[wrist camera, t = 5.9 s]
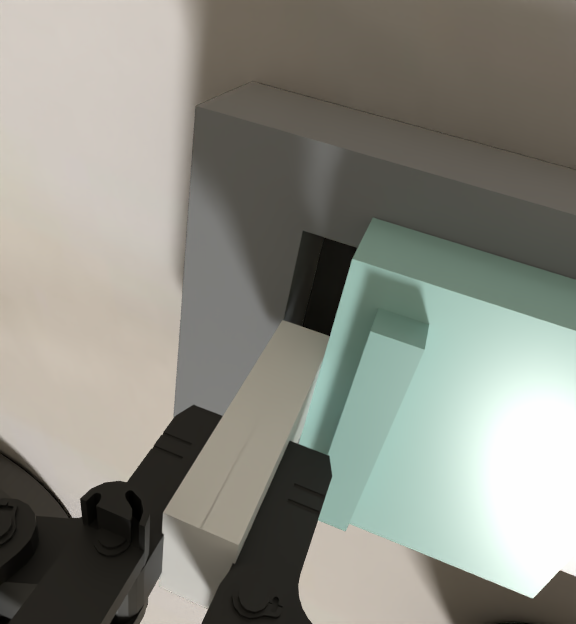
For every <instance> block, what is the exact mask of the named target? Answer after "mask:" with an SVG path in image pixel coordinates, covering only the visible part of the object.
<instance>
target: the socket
mask: <svg viewBox="0 0 576 624" xmlns="http://www.w3.org/2000/svg"><path fill="white" fill-rule="evenodd" d="M372 218H376V219H380V220H383V221H386V222H389V223H393V224H396V225H399V226H402V227H406V228H409V229H412V230H415V231H419V232H422V233H425V234H428V235H432V236H435V237H438V238H441V239H445V240H448V241H451V242H455V243H458V244H461V245H464V246H468V247H471V248H474V249H477V250H481V251H484V252H487V253H490V254H494V255H497V256H500V257H503V258H507V259H510V260H513V261H516V262H520V263H523V264H526V265H530V266H533V267H536V268H539V269H543V270H546V271H549V272H552V273H556V274H559V275H562V276H565V277H569V278H572V279H575V280H576V170H574V169H571V168H567V167H563V166H560V165H556V164H552V163H549V162H545V161H541V160H538V159H534V158H530V157H527V156H523V155H519V154H516V153H512V152H508V151H505V150H501V149H498V148H494V147H490V146H487V145H483V144H479V143H476V142H472V141H468V140H465V139H461V138H457V137H454V136H450V135H446V134H443V133H439V132H435V131H432V130H428V129H424V128H421V127H417V126H413V125H410V124H406V123H402V122H399V121H395V120H392V119H388V118H384V117H381V116H377V115H373V114H370V113H366V112H362V111H359V110H355V109H351V108H348V107H344V106H340V105H337V104H333V103H329V102H326V101H322V100H318V99H315V98H311V97H307V96H304V95H300V94H297V93H293V92H289V91H286V90H282V89H278V88H275V87H271V86H267V85H264V84H260V83H256V82H253V81H252V82H250V83H247V84H245V85H243V86H240V87H238V88H236V89H234V90H231V91H229V92H227V93H224V94H222V95H220V96H217V97H215V98H213V99H210V100H208V101H206V102H203V103H201V104H199V105H197V106H196V109H195V123H194V137H193V151H192V165H191V179H190V193H189V207H188V221H187V235H186V249H185V263H184V277H183V291H182V306H181V320H180V334H179V348H178V362H177V376H176V390H175V404H174V417H175V416H176V415H178V414H179V413H181V412H182V411H184V410H185V409H187V408H189V407H190V406H192V405H196V406H199V407H201V408H204V409H206V410H209V411H212V412H214V413H217V414H219V415H222V416H223V415H224V413H225V412H226V410H227V409H228V407H229V405H230V404H231V402H232V401H233V399H234V397H235V396H236V394H237V393H238V391H239V389H240V388H241V386H242V384H243V383H244V381H245V380H246V378H247V376H248V375H249V373H250V372H251V370H252V368H253V367H254V365H255V364H256V362H257V360H258V359H259V357H260V355H261V354H262V352H263V351H264V349H265V347H266V346H267V344H268V343H269V341H270V339H271V338H272V336H273V335H274V333H275V331H276V330H277V328H278V326H279V325H280V323H281V322H282V320H284V321H287V322H290V323H293V324H296V325H299V326H303V322H304V318H305V314H306V310H307V306H308V301H309V297H310V293H311V289H312V285H313V281H314V277H315V273H316V269H317V265H318V261H319V257H320V253H321V249H322V245H323V241H324V237H325V238H328V239H331V240H334V241H337V242H340V243H344V244H347V245H350V246H353V247H356V248H358V246H359V244H360V242H361V240H362V238H363V236H364V234H365V232H366V230H367V228H368V226H369V224H370V222H371V220H372ZM300 438H301V436H300ZM300 438H299V441H300ZM299 441H298V443H297V444H299ZM560 570H561V571H563V572H566V573H568V574H571V575H574V576H576V553H575V555H574V556H573V557H572V558H571V559H570V560H569V561H568V562H567V563H566V564H565V565H564V566H563V567H562V568H561V569H560Z"/></svg>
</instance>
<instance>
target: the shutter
mask: <svg viewBox="0 0 576 624" xmlns="http://www.w3.org/2000/svg"><path fill="white" fill-rule="evenodd" d="M299 444H300V445H303V446H305V447H308V448H310V449H313V450H316V451H318V452H321V453H323V454H326V455H329V456H330V463H331V470H332V479H331V482H330V485H329V488H328V491H327V494H326V497H325V500H324V503H323V506H322V509H321V512H320V515H319V518H318V520H319V521H321V522H324V523H326V524H329V525H331V526H334V527H336V528H338V529H341V530H343V531H346V529H347V527H348V525H349V524H351V525H354V526H356V527H359V528H361V529H364V530H366V531H368V532H371V533H373V534H376V535H378V536H381V537H383V538H386V539H388V540H390V541H393V542H395V543H398V544H400V545H403V546H405V547H408V548H410V549H413V550H415V551H417V552H420V553H422V554H425V555H427V556H430V557H432V558H435V559H437V560H440V561H442V562H444V563H447V564H449V565H452V566H454V567H457V568H459V569H462V570H464V571H466V572H469V573H471V574H474V575H476V576H479V577H481V578H484V579H486V580H489V581H491V582H493V583H496V584H498V585H501V586H503V587H506V588H508V589H511V590H513V591H516V592H518V593H520V594H523V595H525V596H528V597H530V598H534V597H535V596H536V595H537V594H538V593H539V592H540V591H541V590H542V588H543V587H544V586H545V585H546V584H547V583H548V582H549V581H550V580H551V579H552V578H553V577H554V576H555V575H556V574H557V573H558V572H559V570H560V569H561V568H562V567H563V566H564V565H565V564H566V563H567V562H568V561H569V560H570V559H571V558H572V557H573V556H574V555H575V553H576V280H575V279H572V278H569V277H565V276H562V275H559V274H556V273H552V272H549V271H546V270H543V269H539V268H536V267H533V266H530V265H526V264H523V263H520V262H516V261H513V260H510V259H507V258H503V257H500V256H497V255H494V254H490V253H487V252H484V251H481V250H477V249H474V248H471V247H468V246H464V245H461V244H458V243H455V242H451V241H448V240H445V239H441V238H438V237H435V236H432V235H428V234H425V233H422V232H419V231H415V230H412V229H409V228H406V227H402V226H399V225H396V224H393V223H389V222H386V221H383V220H380V219H376V218H372V220H371V222H370V224H369V226H368V228H367V230H366V232H365V234H364V236H363V238H362V240H361V242H360V244H359V246H358V248H357V250H356V252H355V254H354V256H353V258H352V261H351V265H350V268H349V272H348V275H347V279H346V282H345V286H344V289H343V293H342V296H341V299H340V303H339V306H338V310H337V313H336V317H335V320H334V324H333V327H332V331H331V334H330V337H329V341H328V344H327V348H326V351H325V355H324V358H323V362H322V365H321V369H320V372H319V375H318V379H317V382H316V386H315V389H314V393H313V396H312V400H311V403H310V407H309V411H308V414H307V418H306V421H305V425H304V428H303V431H302V434H301V438H300V441H299Z"/></svg>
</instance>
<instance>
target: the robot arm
mask: <svg viewBox="0 0 576 624" xmlns="http://www.w3.org/2000/svg"><path fill="white" fill-rule="evenodd" d="M329 337H330V336H328V335H325V334H322V333H319V332H316V331H313V330H310V329H307V328H304V327H302V326H299V325H296V324H293V323H290V322H287V321H284V320H282V322H281V323H280V325H279V326H278V328H277V330H276V331H275V333H274V335H273V336H272V338H271V339H270V341H269V343H268V344H267V346H266V347H265V349H264V351H263V352H262V354H261V355H260V357H259V359H258V360H257V362H256V364H255V365H254V367H253V368H252V370H251V372H250V373H249V375H248V376H247V378H246V380H245V381H244V383H243V384H242V386H241V388H240V389H239V391H238V393H237V394H236V396H235V397H234V399H233V401H232V402H231V404H230V405H229V407H228V409H227V410H226V412H225V413H224V415H223V416H222V415H219V414H217V413H214V412H212V411H209V410H206V409H204V408H201V407H199V406H196V405H192V406H190V407H189V408H187V409H185V410H184V411H182V412H181V413H179V414H178V415H176V416H175V417H174V418H173V420H172V421H171V423H170V424H169V425H168V427H167V428H166V429H165V431H164V433H163V435H161V436H160V438H159V439H158V440H157V442H156V443H155V445H154V447H153V449H151V450H150V451H149V453H148V454H147V456H146V457H145V458H144V460H143V461H142V462H141V464H140V465H139V466H138V468H137V469H136V471H135V472H134V473H133V475H132V476H131V477H130V479H129V480H128V482H122V481H115V482H106V483H103V484H101V485H98V486H96V487H94V488H92V489H90V490H89V491H88V492H87V493H86V494H85V495H84V496H83V497H82V498H80V501H81V511H82V517H81V518H68V516H67V514H66V513H65V512H64V510H63V509H62V508H61V506H60V505H59V504H58V502H57V501H56V500H55V499H54V498H53V497H52V496H51V494H50V493H49V492H48V491H47V490H46V489H45V488H44V487H43V486H42V485H41V484H40V483H38V482H37V481H36V480H35V479H34V478H33V477H32V476H30V475H29V474H28V473H27V472H26V471H24V470H23V469H22V468H20V467H19V466H18V465H16V464H15V463H14V462H12V461H11V460H9V459H8V458H6V457H5V456H3V455H1V454H0V624H140V622H141V620H142V618H143V617H144V614H145V611H146V608H147V605H148V596H149V595H150V593H151V591H152V589H153V587H154V586H155V584H156V582H157V580H158V579H159V577H160V581H159V587H160V588H163V589H165V590H167V591H169V592H171V593H174V594H176V595H178V596H180V597H182V598H184V599H187V600H189V601H191V602H193V603H195V604H198V605H200V606H202V607H204V608H206V609H208V611H207V613H206V615H205V617H204V619H203V622H202V624H312V623H311V621H310V620H309V619H308V618H307V616H306V614H305V612H304V610H303V608H302V606H301V602H300V599H299V590H298V583H299V578H300V573H301V570H302V567H303V564H304V561H305V558H306V555H307V552H308V549H309V546H310V543H311V540H312V537H313V534H314V531H315V528H316V525H317V522H318V518H319V515H320V512H321V509H322V506H323V503H324V500H325V497H326V494H327V491H328V488H329V485H330V482H331V479H332V470H331V463H330V456H329V455H326V454H323V453H321V452H318V451H316V450H313V449H310V448H308V447H305V446H303V445H300V444H297V443H298V441H299V438H300V436H301V434H302V431H303V428H304V425H305V421H306V418H307V414H308V411H309V407H310V403H311V400H312V396H313V393H314V389H315V386H316V382H317V379H318V375H319V372H320V369H321V365H322V362H323V358H324V355H325V351H326V348H327V344H328V341H329Z"/></svg>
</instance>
